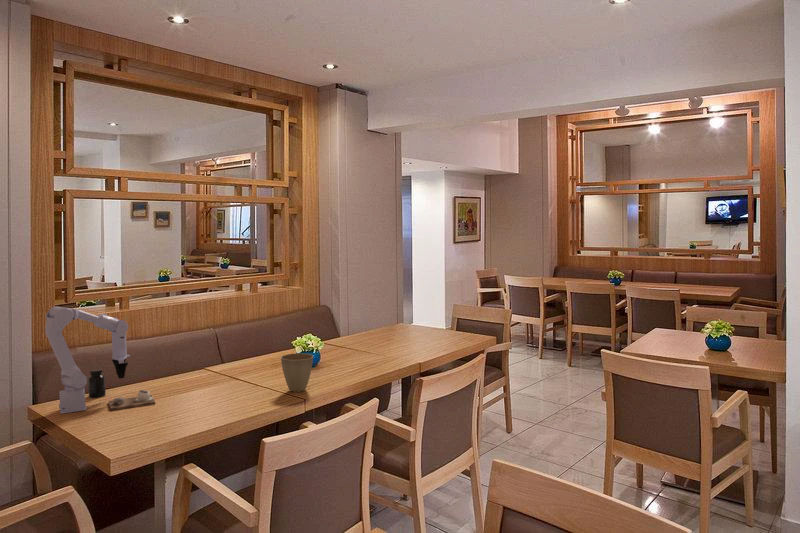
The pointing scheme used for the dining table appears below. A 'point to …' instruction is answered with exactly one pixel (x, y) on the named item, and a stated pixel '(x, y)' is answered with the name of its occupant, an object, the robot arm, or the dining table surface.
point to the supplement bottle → (96, 384)
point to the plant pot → (297, 370)
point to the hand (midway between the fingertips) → (120, 376)
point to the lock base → (129, 403)
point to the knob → (143, 395)
